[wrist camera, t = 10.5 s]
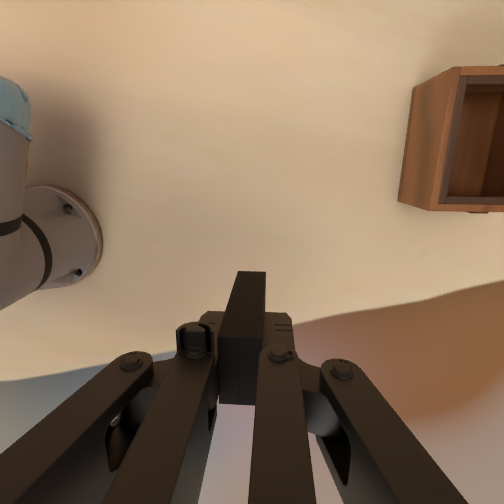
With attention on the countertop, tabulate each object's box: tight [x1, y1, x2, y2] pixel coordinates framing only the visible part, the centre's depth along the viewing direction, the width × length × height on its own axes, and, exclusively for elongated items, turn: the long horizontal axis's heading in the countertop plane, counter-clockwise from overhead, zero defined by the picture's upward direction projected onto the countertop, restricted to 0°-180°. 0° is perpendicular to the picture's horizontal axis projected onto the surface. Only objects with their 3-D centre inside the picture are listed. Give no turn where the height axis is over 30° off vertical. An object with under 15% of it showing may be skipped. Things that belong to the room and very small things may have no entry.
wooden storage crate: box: [398, 64, 504, 213], centre depth 36 cm, size 9×14×11 cm
